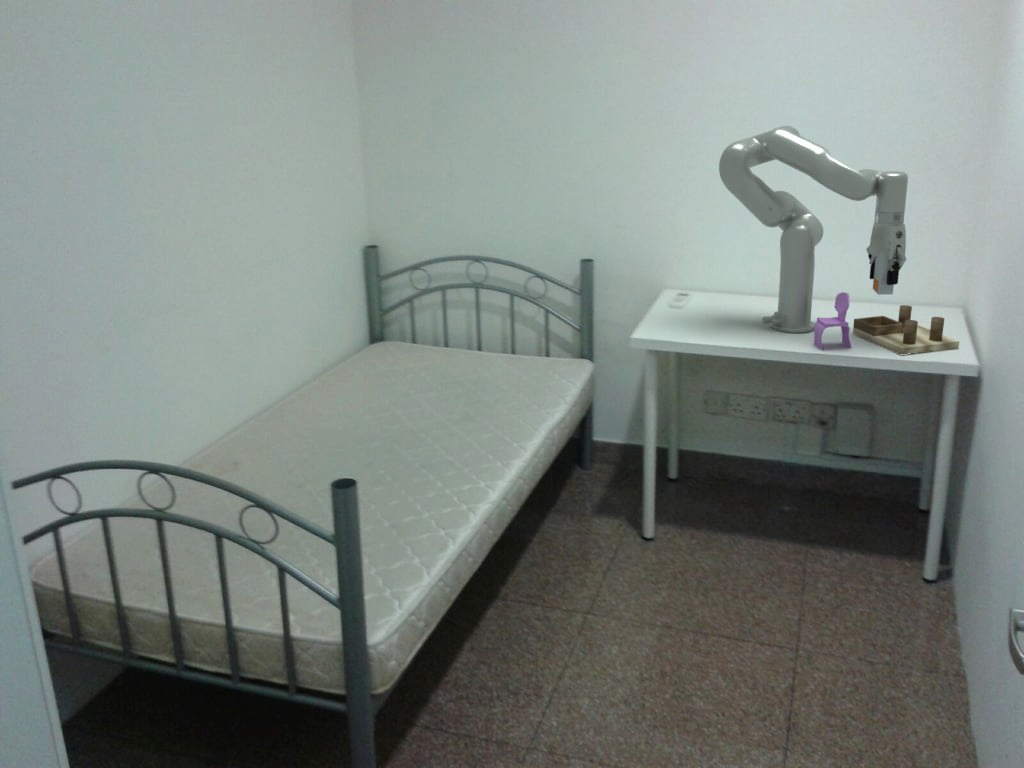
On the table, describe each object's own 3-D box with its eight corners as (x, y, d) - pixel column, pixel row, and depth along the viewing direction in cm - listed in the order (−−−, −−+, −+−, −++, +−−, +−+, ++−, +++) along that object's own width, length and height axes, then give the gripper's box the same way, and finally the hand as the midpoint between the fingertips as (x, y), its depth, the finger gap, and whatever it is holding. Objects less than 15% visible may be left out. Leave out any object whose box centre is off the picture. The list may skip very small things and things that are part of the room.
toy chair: (811, 342, 274) (815, 290, 269) (841, 341, 274) (846, 289, 269) (822, 351, 266) (826, 297, 261) (853, 349, 267) (858, 296, 262)
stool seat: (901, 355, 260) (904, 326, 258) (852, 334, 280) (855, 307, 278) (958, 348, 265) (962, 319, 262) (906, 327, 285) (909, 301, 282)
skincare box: (871, 289, 276) (875, 247, 272) (887, 289, 276) (891, 247, 272) (877, 294, 270) (881, 252, 266) (893, 294, 270) (897, 251, 266)
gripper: (922, 221, 259) (915, 286, 265) (881, 212, 275) (875, 274, 281) (897, 223, 257) (891, 289, 263) (858, 214, 273) (853, 276, 279)
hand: (883, 281), depth 272 cm, fingers closed on skincare box, 7 cm apart
